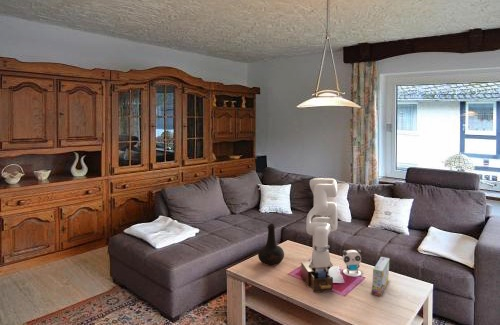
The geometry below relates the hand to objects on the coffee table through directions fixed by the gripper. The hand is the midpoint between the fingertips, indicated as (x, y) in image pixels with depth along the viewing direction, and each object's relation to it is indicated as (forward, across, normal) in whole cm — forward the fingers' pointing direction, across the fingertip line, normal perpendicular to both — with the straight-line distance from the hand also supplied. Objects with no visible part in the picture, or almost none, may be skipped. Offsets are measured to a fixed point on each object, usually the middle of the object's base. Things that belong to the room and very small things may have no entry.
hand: (320, 277), depth 204 cm
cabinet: (+7, 0, -11) cm, 14 cm away
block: (0, 0, 0) cm, 0 cm away
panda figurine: (+8, -27, -17) cm, 33 cm away
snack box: (+8, -35, +4) cm, 36 cm away
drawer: (+7, 0, 0) cm, 7 cm away
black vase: (+8, +21, -41) cm, 47 cm away
